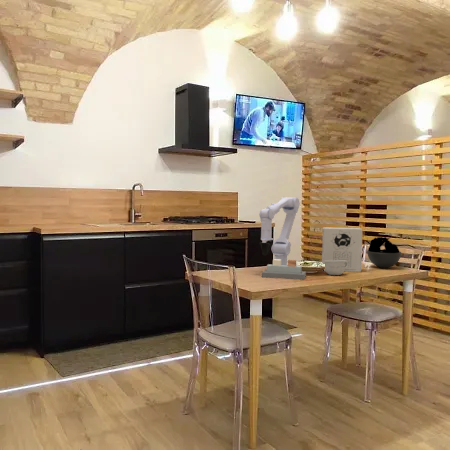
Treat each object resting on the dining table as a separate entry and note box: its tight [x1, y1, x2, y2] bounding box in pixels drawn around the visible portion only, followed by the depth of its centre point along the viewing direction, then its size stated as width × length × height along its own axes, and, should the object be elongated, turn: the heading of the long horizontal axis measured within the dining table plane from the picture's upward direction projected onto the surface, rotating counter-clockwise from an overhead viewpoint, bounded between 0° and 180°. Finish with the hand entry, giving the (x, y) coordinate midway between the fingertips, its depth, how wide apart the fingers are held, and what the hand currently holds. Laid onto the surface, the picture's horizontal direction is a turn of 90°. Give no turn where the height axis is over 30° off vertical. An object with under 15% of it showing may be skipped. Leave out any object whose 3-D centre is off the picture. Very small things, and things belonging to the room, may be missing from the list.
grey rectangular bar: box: [266, 263, 303, 274], centre depth 250 cm, size 18×5×3 cm, turn 75°
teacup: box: [324, 260, 348, 276], centre depth 260 cm, size 14×11×8 cm
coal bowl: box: [366, 236, 402, 269], centre depth 288 cm, size 20×20×19 cm
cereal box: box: [321, 226, 363, 273], centre depth 274 cm, size 22×8×25 cm, turn 84°
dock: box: [261, 269, 307, 280], centre depth 250 cm, size 11×22×2 cm, turn 75°
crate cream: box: [272, 258, 281, 266], centre depth 251 cm, size 4×4×3 cm
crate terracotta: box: [287, 259, 297, 267], centre depth 249 cm, size 4×4×3 cm
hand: (265, 254), depth 259 cm, fingers open, 7 cm apart
